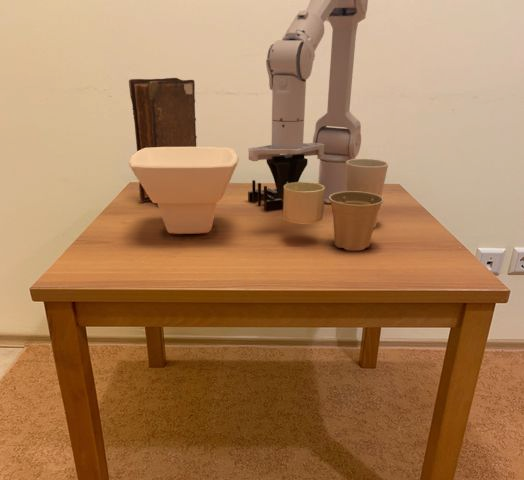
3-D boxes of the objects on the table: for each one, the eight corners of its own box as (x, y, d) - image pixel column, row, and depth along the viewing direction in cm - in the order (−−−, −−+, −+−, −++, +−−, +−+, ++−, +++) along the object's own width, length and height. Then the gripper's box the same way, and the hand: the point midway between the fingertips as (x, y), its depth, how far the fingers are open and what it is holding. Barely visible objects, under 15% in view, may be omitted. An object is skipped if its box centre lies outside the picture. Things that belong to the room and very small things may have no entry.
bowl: (241, 246, 92) (240, 165, 85) (132, 248, 91) (121, 166, 83) (238, 216, 108) (237, 146, 101) (145, 217, 107) (137, 146, 99)
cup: (387, 224, 104) (396, 162, 98) (366, 233, 99) (373, 168, 93) (355, 216, 109) (361, 157, 103) (332, 224, 104) (337, 162, 98)
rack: (296, 195, 124) (297, 174, 121) (317, 205, 116) (318, 182, 114) (247, 201, 119) (247, 178, 116) (265, 211, 111) (266, 188, 109)
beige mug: (330, 220, 91) (332, 189, 88) (294, 225, 89) (296, 193, 86) (300, 205, 100) (301, 176, 97) (267, 209, 97) (267, 179, 94)
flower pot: (345, 257, 87) (350, 207, 83) (315, 241, 94) (318, 194, 90) (388, 249, 91) (395, 200, 87) (356, 234, 98) (361, 188, 94)
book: (187, 188, 128) (180, 76, 116) (209, 192, 125) (204, 77, 112) (137, 202, 117) (123, 79, 104) (159, 207, 113) (148, 80, 100)
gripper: (260, 124, 84) (260, 207, 91) (335, 120, 89) (329, 198, 96) (243, 119, 89) (244, 197, 96) (314, 115, 95) (310, 190, 102)
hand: (285, 197), depth 97 cm, fingers closed on beige mug
